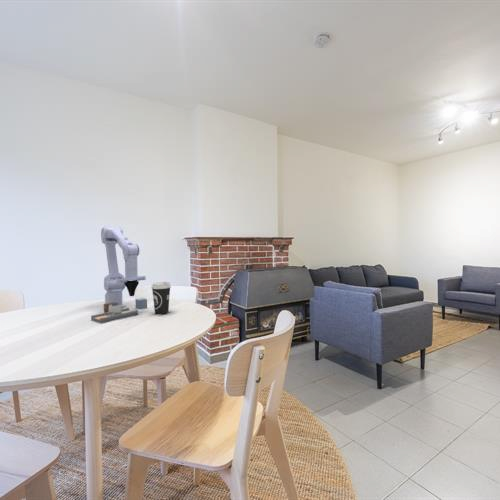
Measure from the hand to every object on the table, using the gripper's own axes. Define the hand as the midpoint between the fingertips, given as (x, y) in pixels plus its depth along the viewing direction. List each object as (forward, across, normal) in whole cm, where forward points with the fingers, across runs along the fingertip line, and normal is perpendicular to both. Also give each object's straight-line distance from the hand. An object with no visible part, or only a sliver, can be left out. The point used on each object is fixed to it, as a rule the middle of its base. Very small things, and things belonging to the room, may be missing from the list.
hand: (131, 295), depth 142 cm
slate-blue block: (+9, +9, +7) cm, 15 cm away
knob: (+7, -9, 0) cm, 11 cm away
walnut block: (+9, -6, +10) cm, 14 cm away
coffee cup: (+9, +9, -11) cm, 17 cm away
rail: (+9, -9, 0) cm, 12 cm away
